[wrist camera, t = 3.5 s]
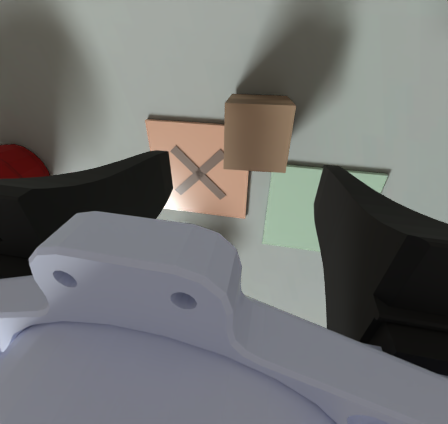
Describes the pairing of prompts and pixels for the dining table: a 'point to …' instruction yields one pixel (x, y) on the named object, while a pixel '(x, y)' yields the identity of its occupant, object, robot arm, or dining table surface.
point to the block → (258, 132)
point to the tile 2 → (300, 205)
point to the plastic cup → (20, 163)
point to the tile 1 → (199, 168)
